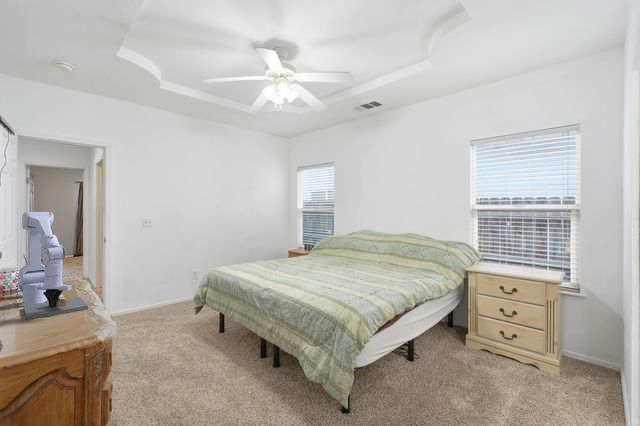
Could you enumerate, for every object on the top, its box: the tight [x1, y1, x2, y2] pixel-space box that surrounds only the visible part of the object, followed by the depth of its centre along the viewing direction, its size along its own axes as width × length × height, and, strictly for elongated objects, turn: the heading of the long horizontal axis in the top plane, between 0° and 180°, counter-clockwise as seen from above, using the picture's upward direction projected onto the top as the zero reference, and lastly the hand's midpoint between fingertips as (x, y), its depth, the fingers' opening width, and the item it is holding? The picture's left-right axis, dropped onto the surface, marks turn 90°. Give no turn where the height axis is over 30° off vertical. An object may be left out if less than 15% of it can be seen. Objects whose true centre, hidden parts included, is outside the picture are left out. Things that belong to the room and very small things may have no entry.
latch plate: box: [23, 296, 89, 321], centre depth 136 cm, size 20×20×2 cm
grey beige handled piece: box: [49, 293, 68, 307], centre depth 133 cm, size 13×5×4 cm, turn 56°
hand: (53, 306), depth 129 cm, fingers closed
